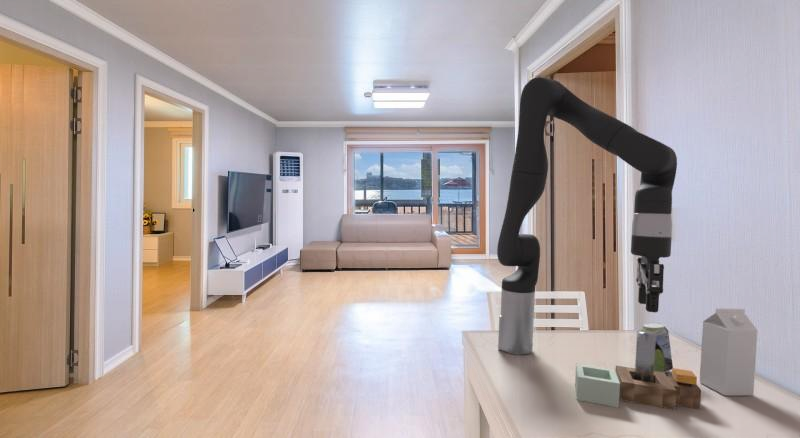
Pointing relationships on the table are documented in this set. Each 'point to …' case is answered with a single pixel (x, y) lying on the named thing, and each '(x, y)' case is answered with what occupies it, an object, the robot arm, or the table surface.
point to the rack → (597, 385)
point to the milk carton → (728, 352)
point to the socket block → (657, 390)
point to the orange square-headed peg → (684, 377)
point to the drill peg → (645, 356)
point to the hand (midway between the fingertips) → (647, 307)
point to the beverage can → (660, 347)
